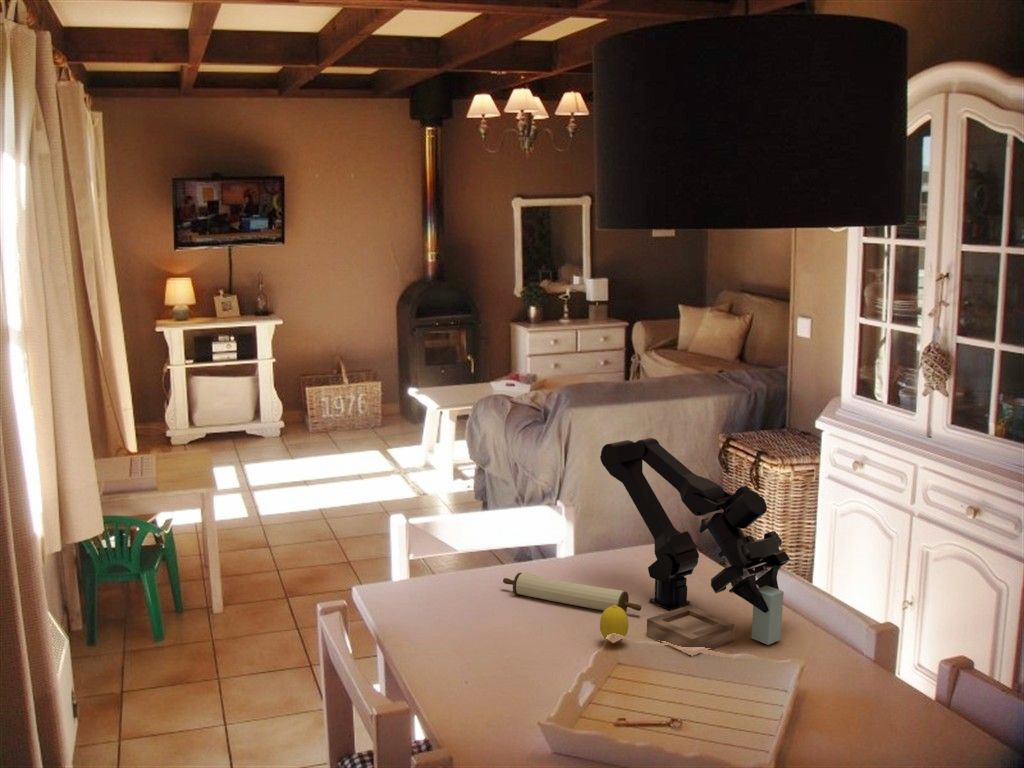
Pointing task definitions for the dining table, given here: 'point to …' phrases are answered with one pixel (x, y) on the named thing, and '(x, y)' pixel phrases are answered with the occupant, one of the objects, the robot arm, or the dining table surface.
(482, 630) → the dining table surface
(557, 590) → the rolling pin
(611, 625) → the lemon
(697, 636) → the walnut base
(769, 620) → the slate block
